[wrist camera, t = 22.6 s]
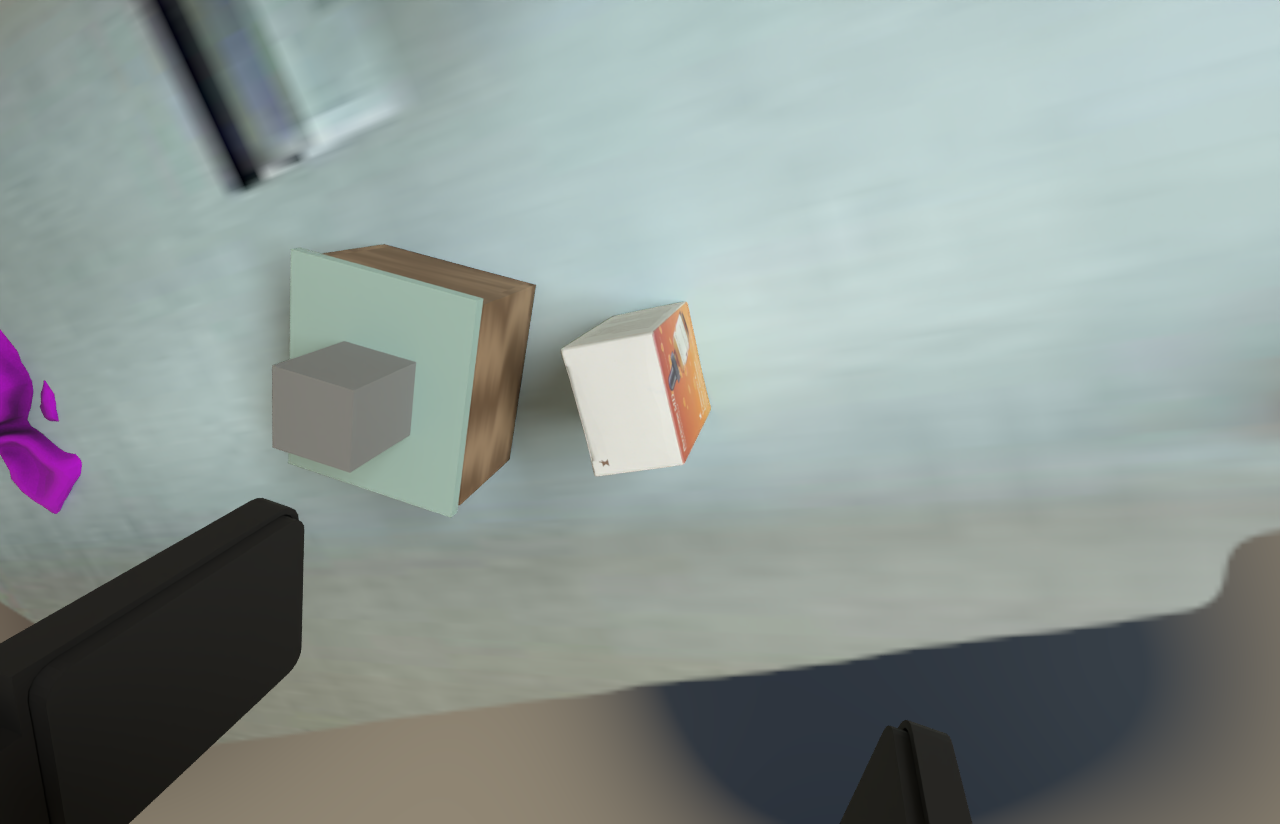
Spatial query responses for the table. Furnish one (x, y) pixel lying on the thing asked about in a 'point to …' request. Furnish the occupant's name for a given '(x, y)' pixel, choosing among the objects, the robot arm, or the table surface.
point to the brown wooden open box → (495, 351)
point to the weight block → (342, 404)
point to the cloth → (31, 436)
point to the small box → (639, 389)
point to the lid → (404, 327)
